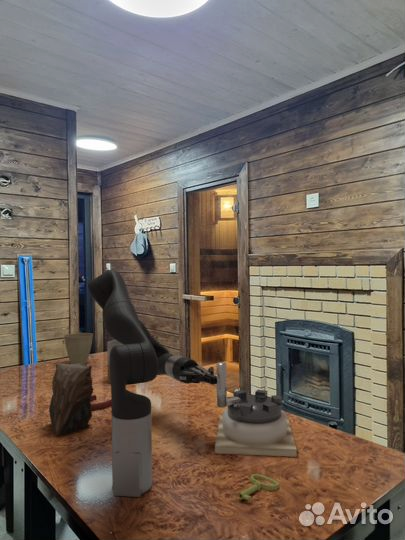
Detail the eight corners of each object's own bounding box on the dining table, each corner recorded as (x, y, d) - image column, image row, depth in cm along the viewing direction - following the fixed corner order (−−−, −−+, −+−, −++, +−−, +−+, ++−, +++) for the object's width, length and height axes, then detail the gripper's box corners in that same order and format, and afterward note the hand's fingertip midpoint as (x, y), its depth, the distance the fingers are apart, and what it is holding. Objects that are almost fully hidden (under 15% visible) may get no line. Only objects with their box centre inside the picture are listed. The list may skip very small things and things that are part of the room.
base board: (296, 456, 106) (296, 449, 106) (215, 453, 109) (214, 446, 109) (288, 424, 128) (288, 418, 128) (220, 422, 131) (220, 416, 131)
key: (237, 504, 86) (237, 494, 86) (253, 476, 97) (252, 468, 97) (269, 511, 83) (269, 501, 83) (282, 482, 94) (282, 473, 94)
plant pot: (96, 365, 210) (96, 335, 210) (68, 369, 202) (67, 338, 202) (88, 360, 222) (88, 331, 222) (61, 363, 215) (61, 334, 214)
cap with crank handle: (291, 420, 112) (290, 362, 112) (221, 428, 108) (220, 367, 107) (269, 401, 128) (268, 350, 128) (206, 407, 123) (206, 354, 123)
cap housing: (290, 446, 108) (290, 428, 108) (220, 443, 110) (220, 425, 110) (283, 419, 127) (283, 404, 127) (224, 418, 129) (224, 402, 129)
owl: (48, 423, 131) (47, 363, 131) (87, 416, 137) (86, 358, 137) (54, 437, 120) (53, 371, 120) (96, 428, 126) (95, 366, 126)
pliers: (46, 417, 138) (46, 409, 138) (94, 400, 155) (94, 393, 155) (68, 424, 131) (68, 416, 131) (115, 406, 149) (115, 398, 149)
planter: (139, 382, 177) (138, 343, 177) (110, 386, 172) (109, 345, 172) (133, 375, 189) (132, 338, 189) (105, 378, 184) (105, 340, 184)
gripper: (163, 360, 122) (196, 371, 108) (198, 354, 130) (232, 364, 116) (163, 384, 122) (196, 398, 108) (198, 377, 130) (233, 389, 116)
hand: (215, 380), depth 112 cm, fingers closed
